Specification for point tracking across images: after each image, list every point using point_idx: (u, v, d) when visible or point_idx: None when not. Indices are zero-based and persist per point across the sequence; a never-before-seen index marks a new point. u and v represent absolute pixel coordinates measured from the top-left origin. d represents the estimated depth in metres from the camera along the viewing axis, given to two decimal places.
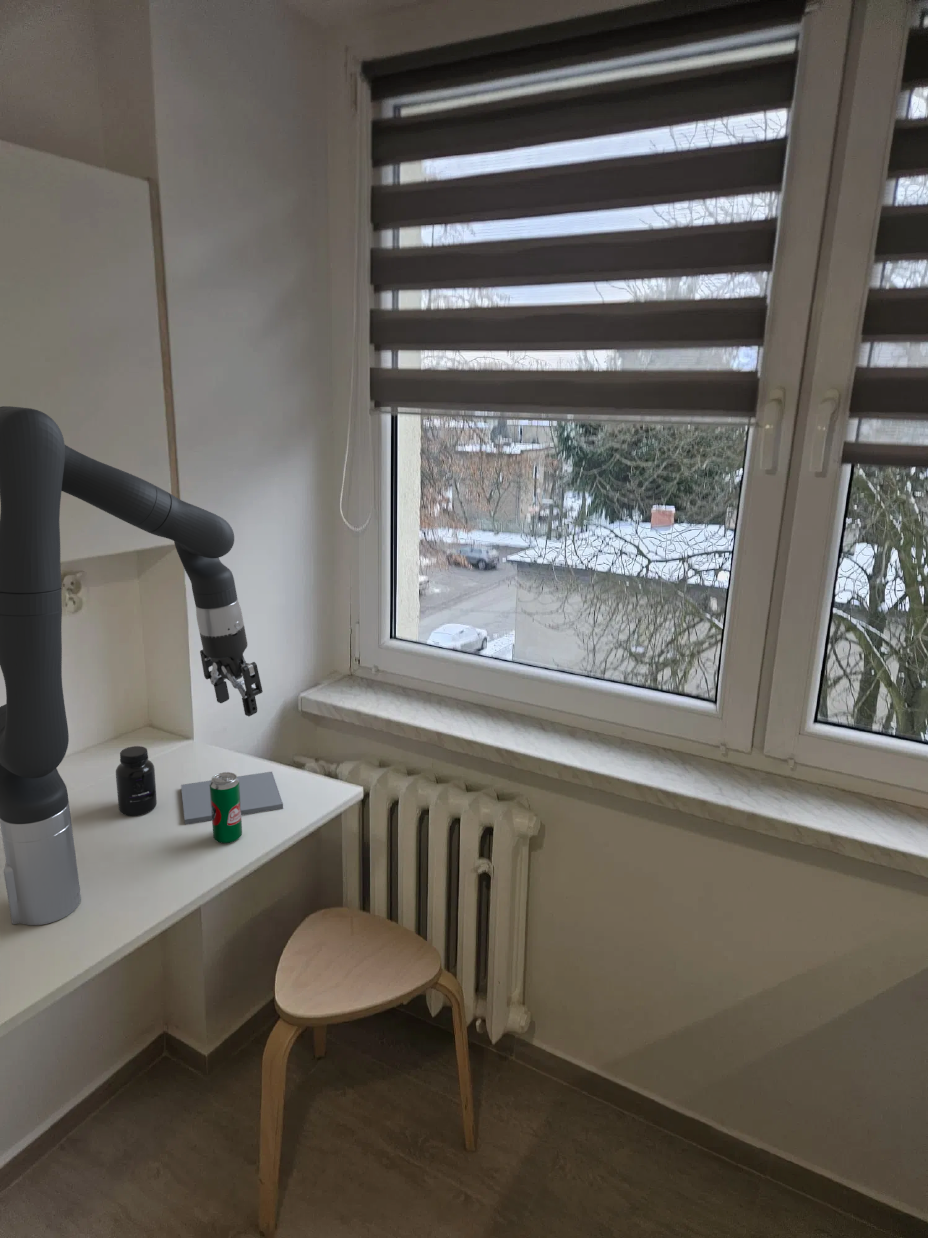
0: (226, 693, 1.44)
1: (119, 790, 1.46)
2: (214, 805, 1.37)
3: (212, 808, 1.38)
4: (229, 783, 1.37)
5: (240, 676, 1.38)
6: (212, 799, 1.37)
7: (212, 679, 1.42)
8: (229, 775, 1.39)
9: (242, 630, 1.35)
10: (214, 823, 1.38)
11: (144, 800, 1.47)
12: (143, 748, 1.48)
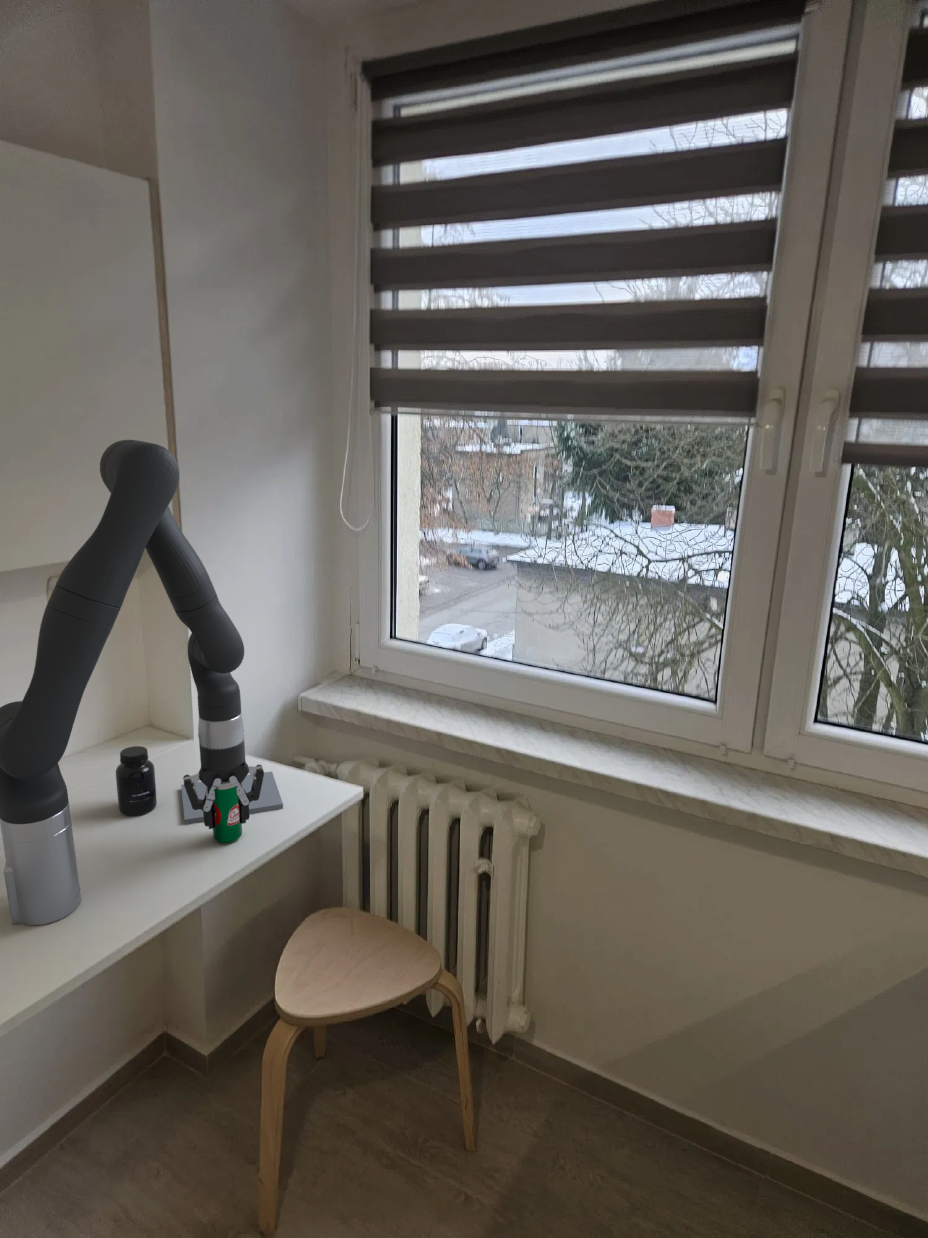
0: None
1: (119, 790, 1.46)
2: (214, 805, 1.37)
3: (212, 808, 1.38)
4: (229, 783, 1.37)
5: None
6: None
7: (207, 805, 1.37)
8: None
9: None
10: (214, 823, 1.38)
11: (144, 800, 1.47)
12: (143, 748, 1.48)
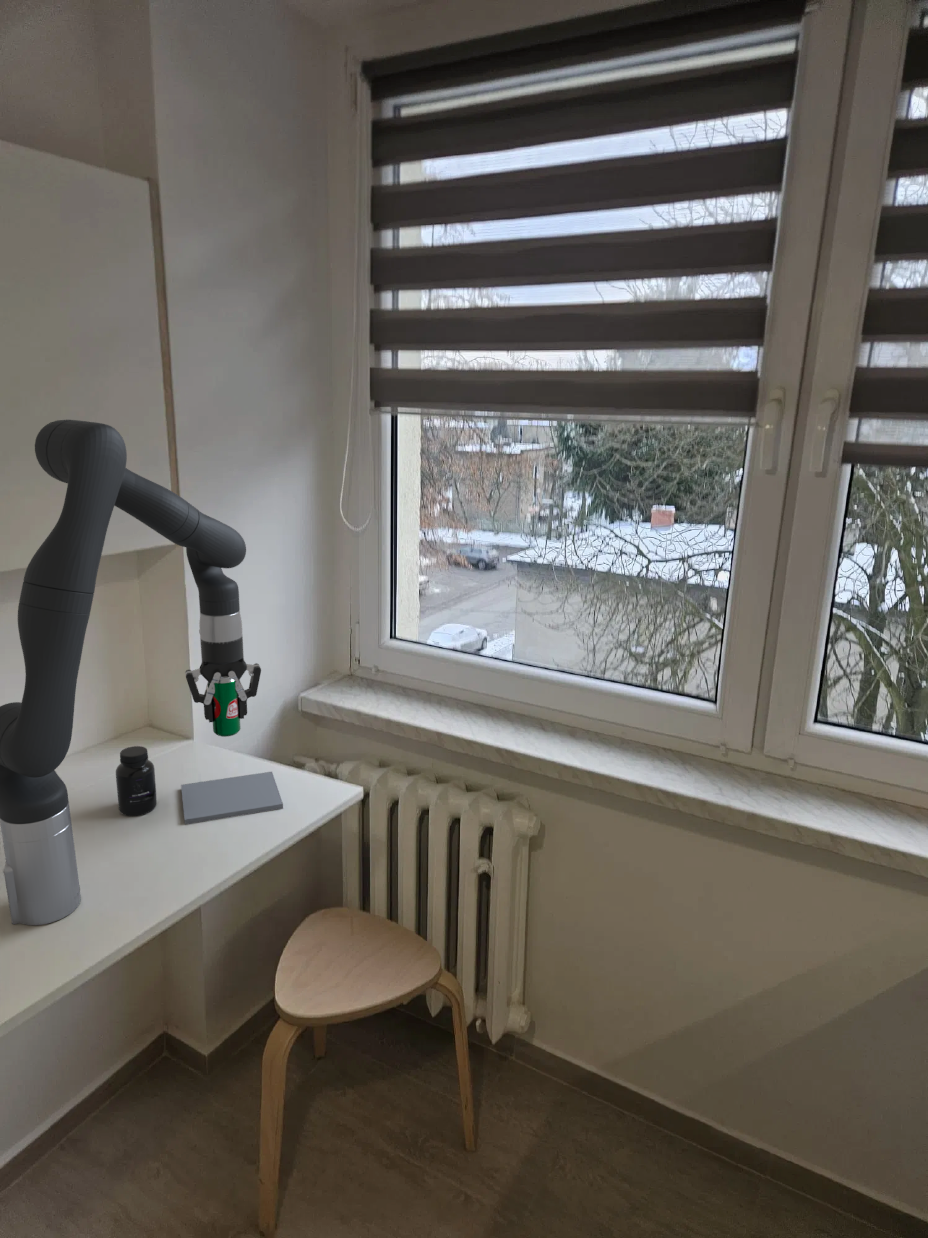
0: None
1: (119, 790, 1.46)
2: (214, 699, 1.46)
3: (212, 702, 1.47)
4: (228, 677, 1.45)
5: None
6: None
7: (207, 698, 1.46)
8: None
9: None
10: (214, 716, 1.47)
11: (144, 800, 1.47)
12: (143, 748, 1.48)
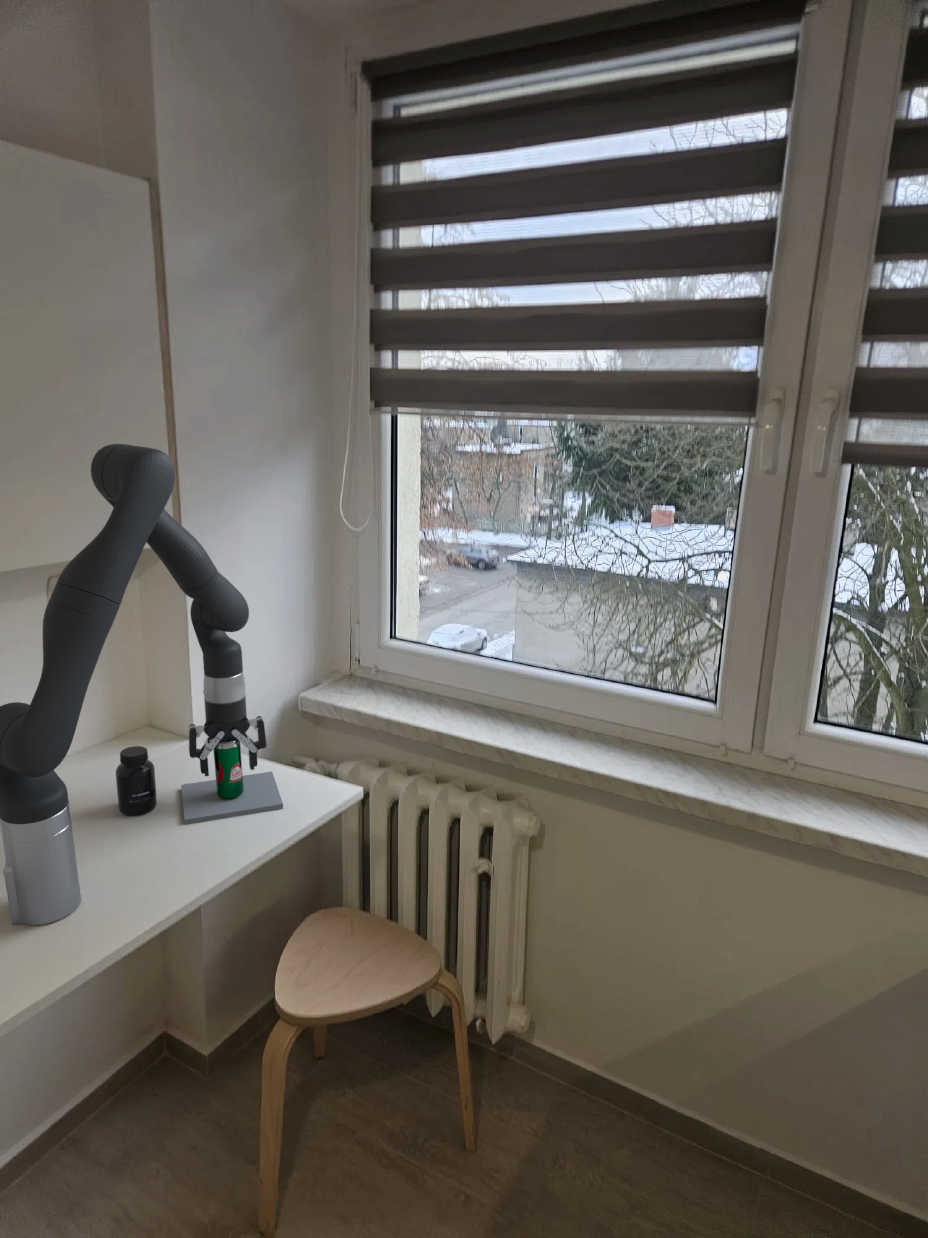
0: None
1: (119, 790, 1.46)
2: (217, 764, 1.50)
3: (216, 766, 1.50)
4: (231, 743, 1.49)
5: None
6: (215, 758, 1.50)
7: (204, 753, 1.49)
8: None
9: None
10: (218, 780, 1.51)
11: (144, 800, 1.47)
12: (143, 748, 1.48)
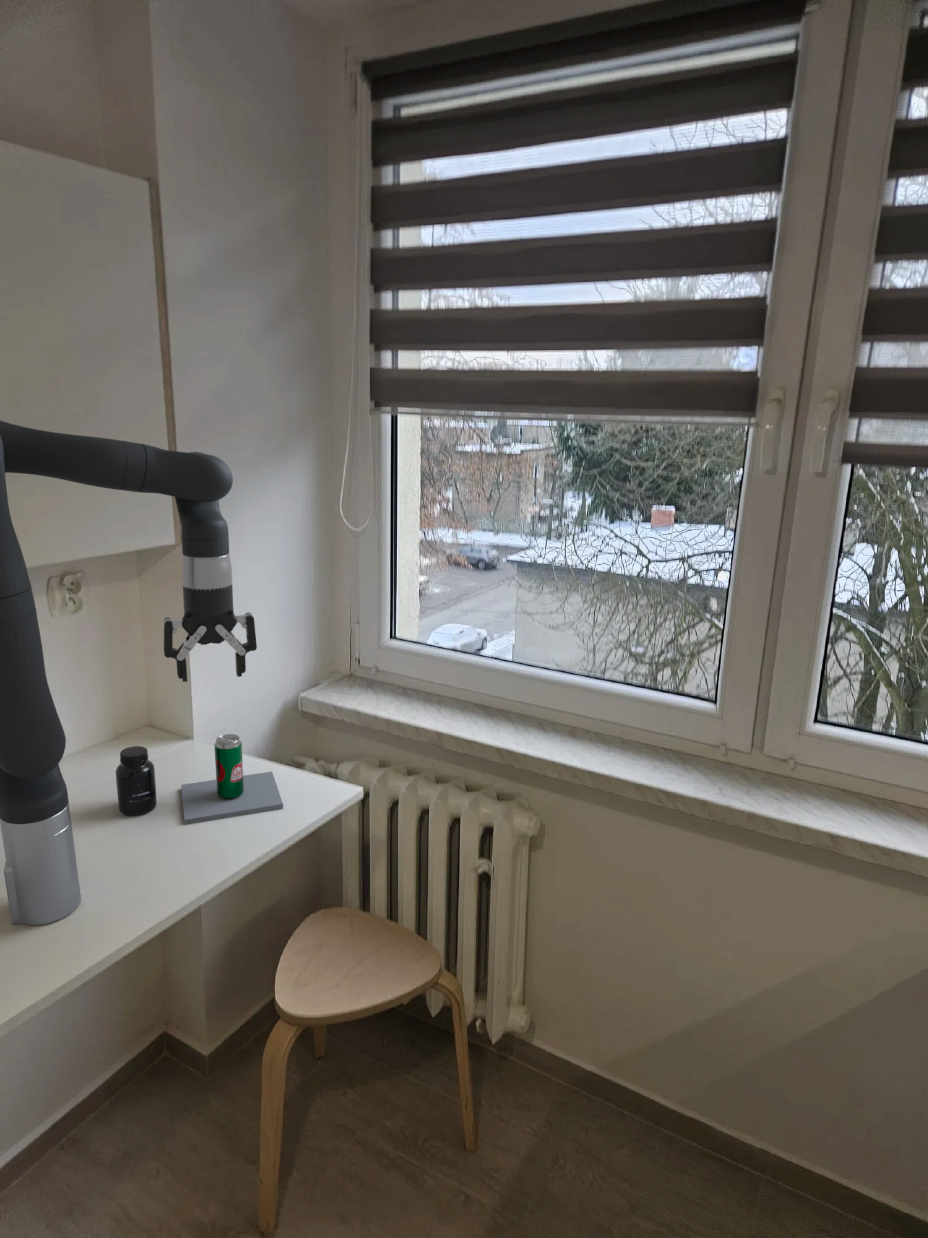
0: None
1: (119, 790, 1.46)
2: (218, 763, 1.50)
3: (217, 766, 1.50)
4: (232, 743, 1.49)
5: None
6: (217, 758, 1.50)
7: (182, 653, 1.24)
8: (232, 736, 1.52)
9: None
10: (218, 780, 1.51)
11: (144, 800, 1.47)
12: (143, 748, 1.48)
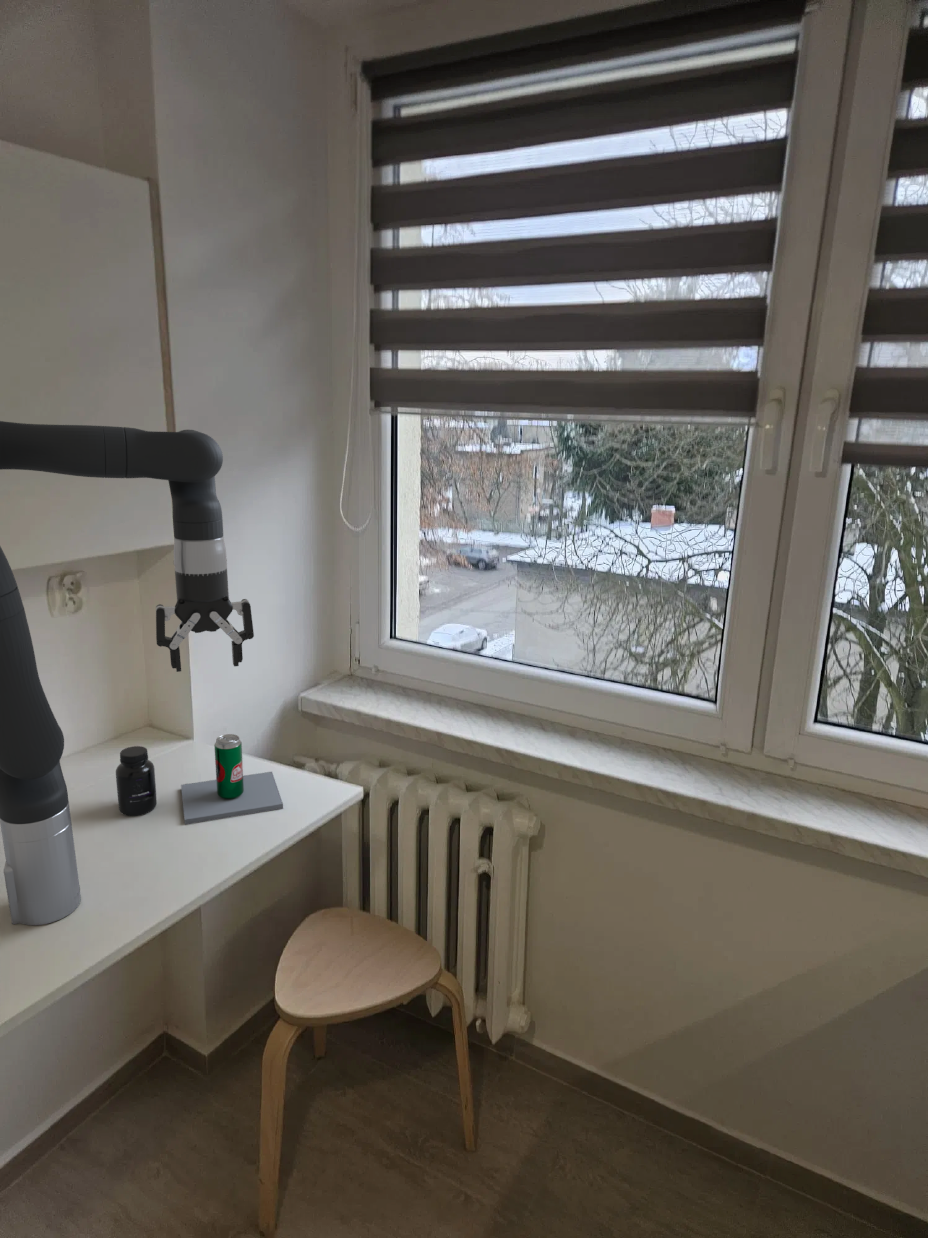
0: None
1: (119, 790, 1.46)
2: (218, 764, 1.50)
3: (217, 766, 1.50)
4: (232, 743, 1.49)
5: None
6: (217, 758, 1.50)
7: (175, 641, 1.18)
8: (232, 736, 1.52)
9: None
10: (218, 780, 1.51)
11: (144, 800, 1.47)
12: (143, 748, 1.48)
